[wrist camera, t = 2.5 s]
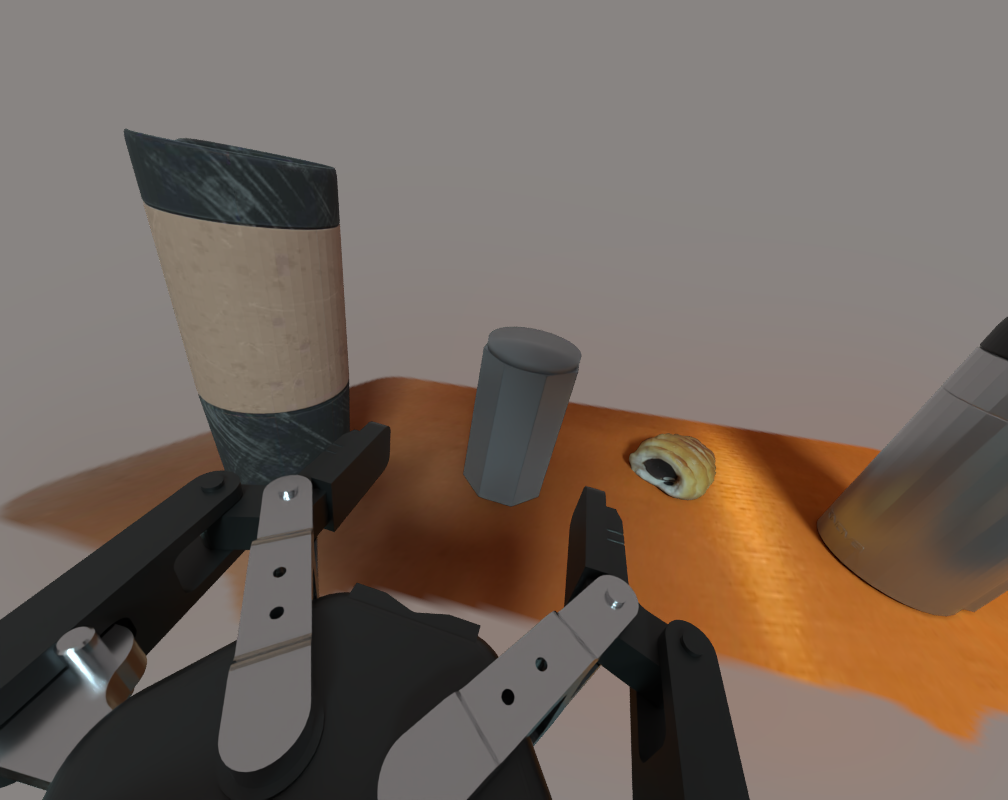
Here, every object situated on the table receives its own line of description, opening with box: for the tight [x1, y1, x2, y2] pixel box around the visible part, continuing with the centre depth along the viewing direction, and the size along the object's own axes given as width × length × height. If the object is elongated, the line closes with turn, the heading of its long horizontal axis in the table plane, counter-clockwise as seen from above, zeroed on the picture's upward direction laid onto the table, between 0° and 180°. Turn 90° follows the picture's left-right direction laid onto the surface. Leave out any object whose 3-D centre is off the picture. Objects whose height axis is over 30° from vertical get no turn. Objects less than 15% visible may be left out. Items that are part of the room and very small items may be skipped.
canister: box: [463, 327, 581, 506], centre depth 27 cm, size 6×6×12 cm
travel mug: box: [124, 129, 350, 485], centre depth 21 cm, size 8×8×20 cm
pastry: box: [629, 433, 716, 500], centre depth 34 cm, size 9×7×4 cm
